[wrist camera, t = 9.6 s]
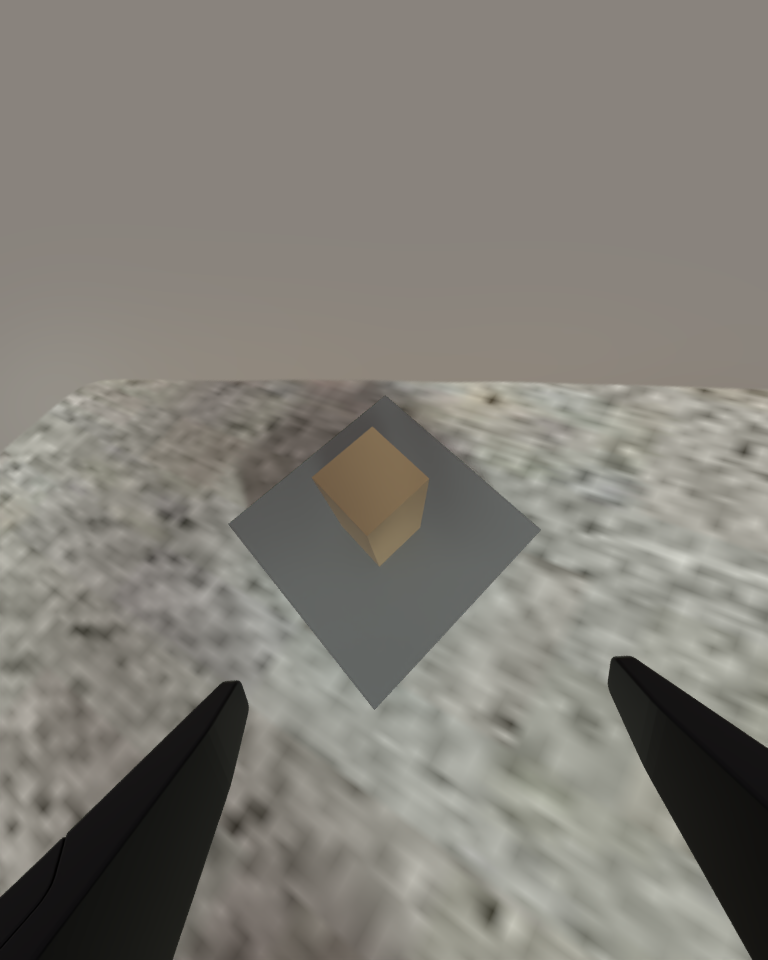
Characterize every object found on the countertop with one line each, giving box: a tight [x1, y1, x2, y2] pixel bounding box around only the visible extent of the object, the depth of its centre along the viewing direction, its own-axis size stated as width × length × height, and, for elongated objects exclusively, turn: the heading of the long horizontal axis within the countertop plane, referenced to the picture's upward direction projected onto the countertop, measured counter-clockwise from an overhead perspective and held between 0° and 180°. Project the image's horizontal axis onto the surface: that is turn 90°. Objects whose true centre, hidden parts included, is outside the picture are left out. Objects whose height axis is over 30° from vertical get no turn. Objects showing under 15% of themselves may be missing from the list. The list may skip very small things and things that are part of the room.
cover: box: [229, 396, 541, 710], centre depth 18 cm, size 12×12×11 cm
